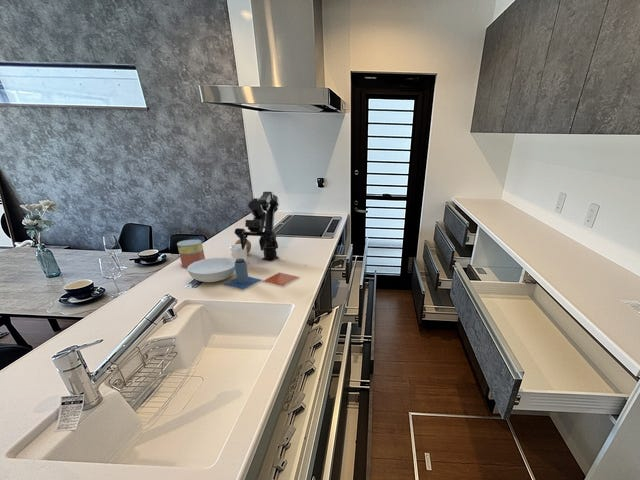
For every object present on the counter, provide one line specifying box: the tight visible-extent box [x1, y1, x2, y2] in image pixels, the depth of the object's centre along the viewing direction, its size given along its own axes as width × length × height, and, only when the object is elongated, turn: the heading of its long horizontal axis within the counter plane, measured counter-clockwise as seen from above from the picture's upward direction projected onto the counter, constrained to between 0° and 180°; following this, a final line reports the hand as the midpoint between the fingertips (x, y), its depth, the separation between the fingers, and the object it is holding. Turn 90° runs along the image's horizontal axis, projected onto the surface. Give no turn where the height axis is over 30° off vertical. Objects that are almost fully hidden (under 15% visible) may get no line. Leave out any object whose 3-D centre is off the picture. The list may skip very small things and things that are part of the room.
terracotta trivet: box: [263, 272, 299, 287], centre depth 146 cm, size 12×12×1 cm
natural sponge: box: [234, 238, 252, 255], centre depth 174 cm, size 9×9×10 cm
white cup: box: [229, 243, 248, 265], centre depth 162 cm, size 8×8×10 cm
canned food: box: [176, 238, 206, 269], centre depth 159 cm, size 11×11×12 cm
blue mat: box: [222, 276, 262, 290], centre depth 141 cm, size 12×12×1 cm
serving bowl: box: [186, 257, 236, 283], centre depth 144 cm, size 21×21×7 cm
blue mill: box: [234, 259, 249, 284], centre depth 139 cm, size 5×5×11 cm
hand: (251, 249), depth 144 cm, fingers open, 9 cm apart
